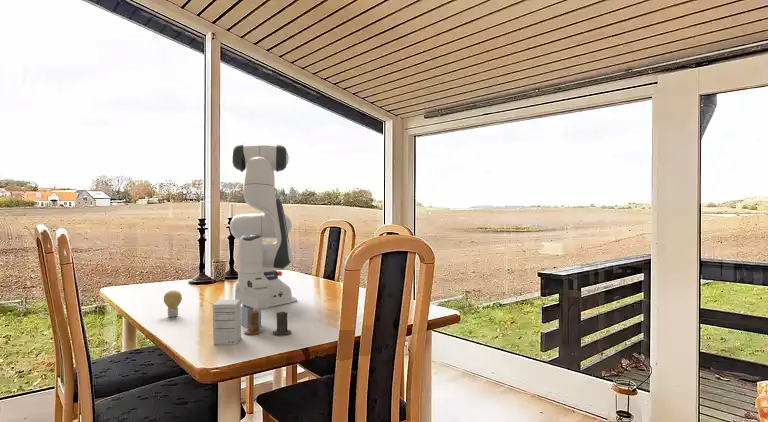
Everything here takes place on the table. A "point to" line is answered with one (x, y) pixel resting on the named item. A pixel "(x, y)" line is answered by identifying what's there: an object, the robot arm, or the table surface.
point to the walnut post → (253, 324)
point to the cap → (245, 315)
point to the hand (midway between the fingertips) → (251, 318)
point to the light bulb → (172, 302)
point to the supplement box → (226, 322)
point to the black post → (282, 325)
